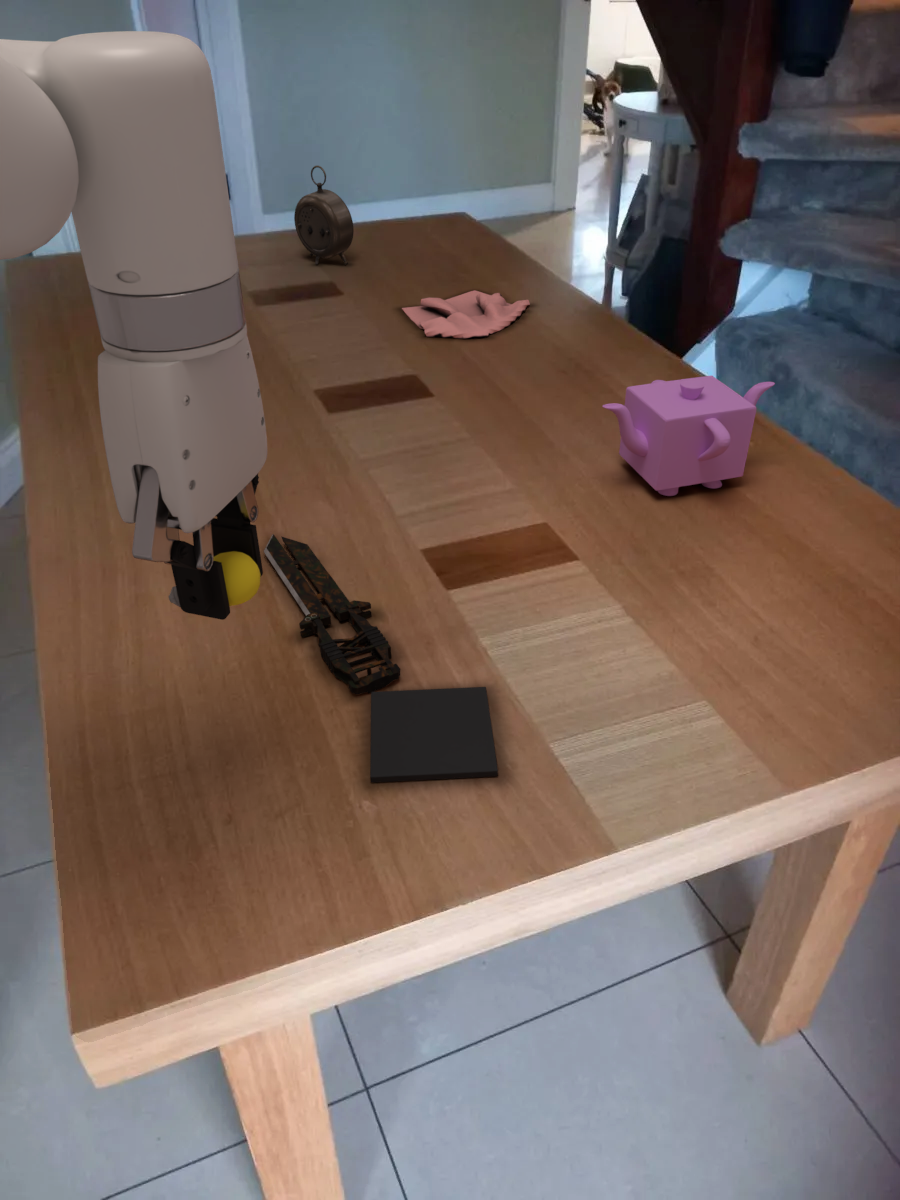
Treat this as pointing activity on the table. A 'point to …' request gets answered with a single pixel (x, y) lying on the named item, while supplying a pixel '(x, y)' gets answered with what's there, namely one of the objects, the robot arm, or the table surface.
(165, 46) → the robot arm
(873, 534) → the table surface
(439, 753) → the coaster
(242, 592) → the light bulb
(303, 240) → the alarm clock
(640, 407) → the teapot
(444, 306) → the cloth
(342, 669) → the knife
